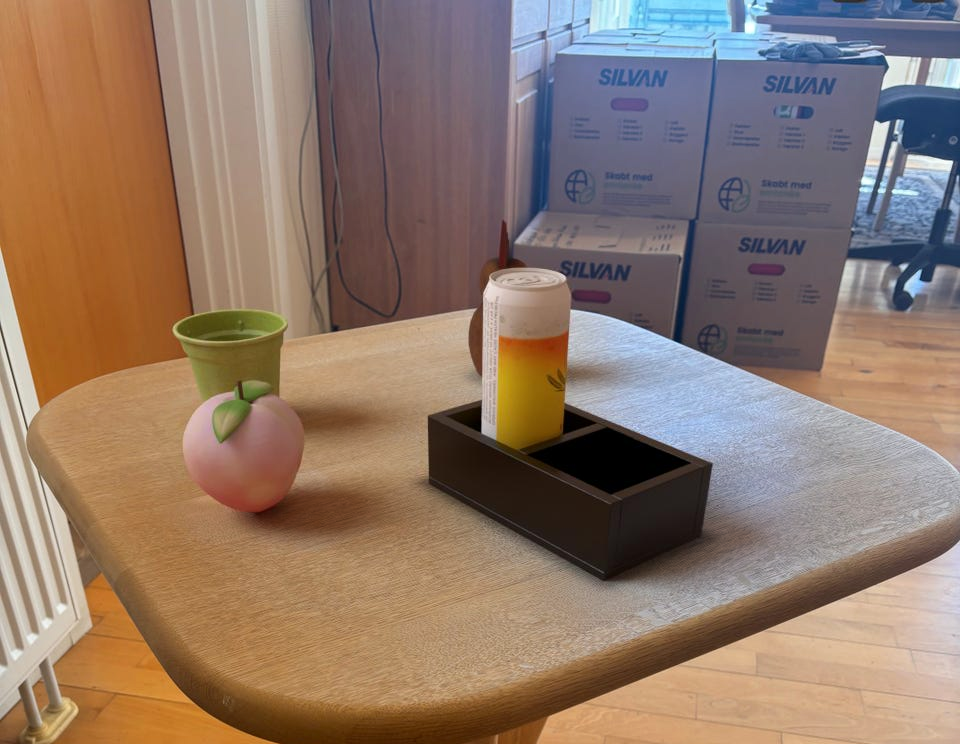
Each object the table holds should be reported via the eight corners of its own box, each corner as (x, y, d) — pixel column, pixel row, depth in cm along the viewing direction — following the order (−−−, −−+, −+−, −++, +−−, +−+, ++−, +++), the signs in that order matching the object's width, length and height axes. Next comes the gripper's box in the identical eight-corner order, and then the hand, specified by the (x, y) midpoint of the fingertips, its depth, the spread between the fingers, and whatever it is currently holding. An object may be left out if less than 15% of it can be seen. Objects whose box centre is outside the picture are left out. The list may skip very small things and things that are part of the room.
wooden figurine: (510, 392, 93) (516, 226, 85) (459, 381, 96) (459, 218, 87) (542, 372, 98) (550, 213, 90) (493, 362, 100) (496, 206, 92)
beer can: (575, 485, 74) (589, 282, 65) (506, 502, 71) (513, 293, 63) (532, 456, 78) (541, 262, 70) (466, 471, 76) (467, 272, 67)
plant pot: (219, 452, 81) (204, 348, 76) (171, 419, 87) (154, 320, 82) (317, 426, 86) (308, 327, 81) (264, 396, 92) (253, 302, 87)
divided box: (523, 454, 81) (526, 386, 78) (701, 538, 69) (713, 463, 66) (428, 485, 76) (427, 415, 73) (603, 583, 64) (611, 503, 61)
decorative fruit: (211, 484, 76) (191, 357, 70) (316, 485, 76) (304, 358, 70) (179, 541, 68) (154, 404, 62) (297, 543, 68) (282, 406, 62)
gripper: (972, -441, 42) (881, 5, 51) (1110, -375, 50) (1010, 3, 59) (823, -400, 47) (764, 2, 56) (970, -345, 54) (897, 1, 64)
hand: (890, 2), depth 57 cm, fingers open, 8 cm apart
